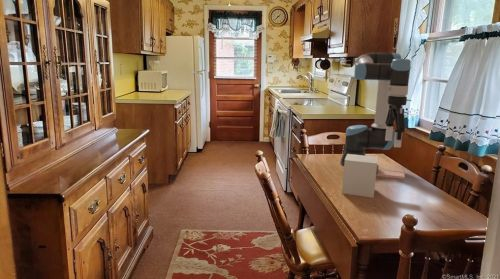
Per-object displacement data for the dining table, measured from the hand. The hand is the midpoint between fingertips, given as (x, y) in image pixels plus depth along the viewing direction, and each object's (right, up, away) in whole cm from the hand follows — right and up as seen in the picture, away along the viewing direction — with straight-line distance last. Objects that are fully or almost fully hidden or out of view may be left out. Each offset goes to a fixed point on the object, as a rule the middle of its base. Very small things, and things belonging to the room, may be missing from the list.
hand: (392, 143), depth 164 cm
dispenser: (-12, -22, +11) cm, 28 cm away
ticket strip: (-5, -14, +6) cm, 16 cm away
